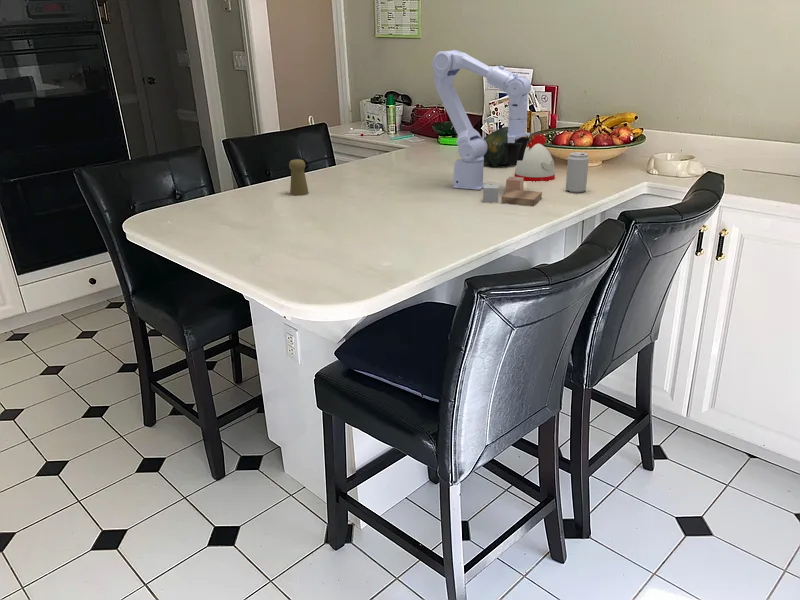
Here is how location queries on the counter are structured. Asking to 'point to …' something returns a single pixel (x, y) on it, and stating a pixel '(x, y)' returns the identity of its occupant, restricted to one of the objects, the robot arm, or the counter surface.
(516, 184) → the terracotta cube
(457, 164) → the robot arm
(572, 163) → the beverage can
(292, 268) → the counter surface
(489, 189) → the grey cube
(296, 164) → the cork
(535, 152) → the kitchen timer
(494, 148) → the squash
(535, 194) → the walnut plinth
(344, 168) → the counter surface
